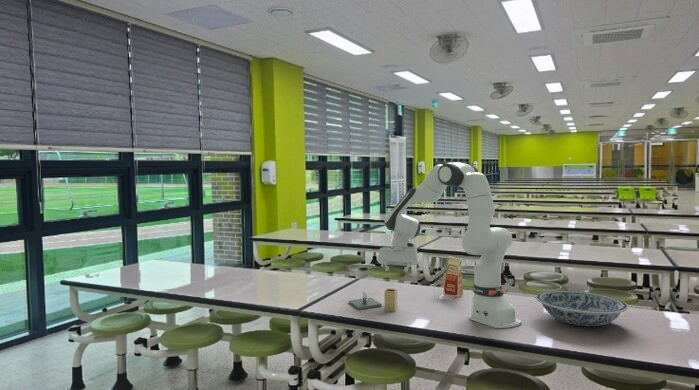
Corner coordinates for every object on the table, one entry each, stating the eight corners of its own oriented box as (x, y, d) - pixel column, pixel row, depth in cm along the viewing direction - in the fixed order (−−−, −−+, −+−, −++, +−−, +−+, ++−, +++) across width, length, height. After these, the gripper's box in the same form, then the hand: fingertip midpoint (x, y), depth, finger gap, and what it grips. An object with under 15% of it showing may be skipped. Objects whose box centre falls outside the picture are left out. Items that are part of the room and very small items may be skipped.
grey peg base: (381, 306, 221) (381, 293, 220) (358, 309, 216) (358, 296, 216) (371, 299, 232) (370, 287, 231) (348, 303, 227) (348, 290, 227)
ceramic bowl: (638, 321, 192) (638, 298, 192) (612, 345, 168) (612, 318, 168) (554, 305, 217) (554, 284, 216) (521, 323, 193) (521, 300, 192)
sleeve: (397, 308, 218) (397, 289, 217) (395, 311, 213) (395, 292, 212) (387, 307, 219) (386, 288, 219) (384, 310, 214) (384, 291, 214)
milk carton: (443, 295, 237) (442, 257, 236) (448, 291, 245) (447, 253, 244) (460, 297, 233) (460, 258, 232) (465, 293, 241) (464, 255, 240)
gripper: (378, 243, 237) (374, 266, 228) (418, 244, 230) (415, 268, 222) (381, 250, 241) (376, 273, 232) (420, 251, 235) (417, 275, 226)
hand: (396, 270), depth 227 cm, fingers open, 8 cm apart
